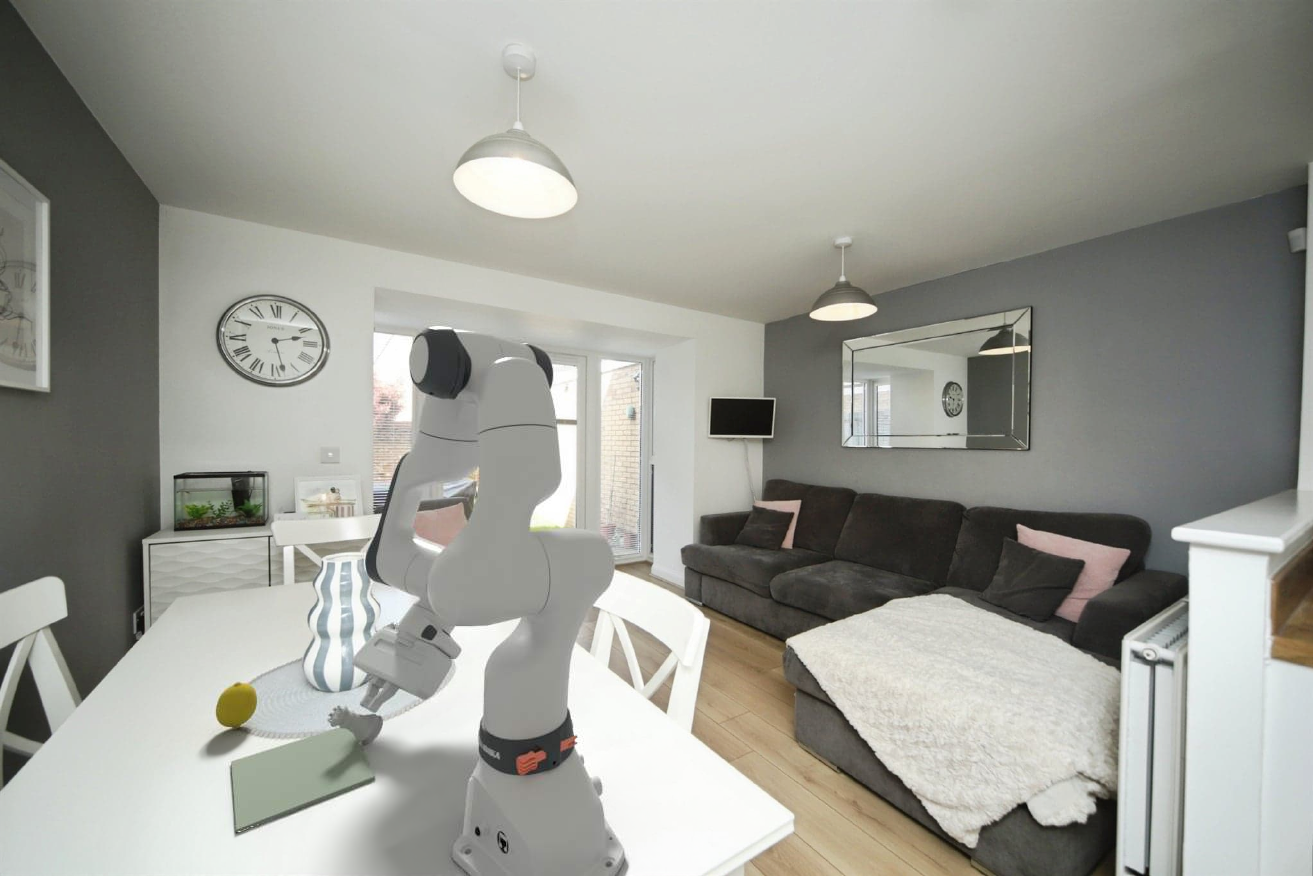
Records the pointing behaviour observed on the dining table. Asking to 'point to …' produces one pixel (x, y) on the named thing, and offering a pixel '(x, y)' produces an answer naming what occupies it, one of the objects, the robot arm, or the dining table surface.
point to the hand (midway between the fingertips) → (366, 709)
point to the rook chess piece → (357, 723)
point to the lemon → (236, 705)
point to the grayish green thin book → (296, 776)
